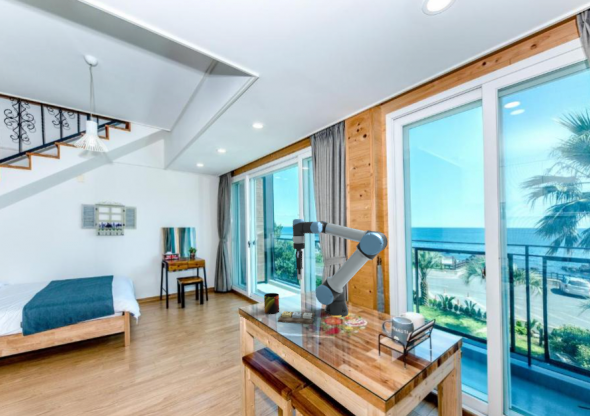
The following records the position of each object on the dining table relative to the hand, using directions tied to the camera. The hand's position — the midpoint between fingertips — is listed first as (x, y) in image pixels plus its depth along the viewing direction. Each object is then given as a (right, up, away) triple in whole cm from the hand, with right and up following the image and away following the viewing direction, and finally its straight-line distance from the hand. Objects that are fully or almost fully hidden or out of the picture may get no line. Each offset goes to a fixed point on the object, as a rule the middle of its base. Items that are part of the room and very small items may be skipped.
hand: (299, 279), depth 171 cm
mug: (-19, -24, +4) cm, 31 cm away
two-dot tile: (-2, -22, -10) cm, 24 cm away
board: (-2, -23, -10) cm, 25 cm away
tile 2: (+4, -22, -11) cm, 25 cm away
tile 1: (-8, -22, -9) cm, 25 cm away
